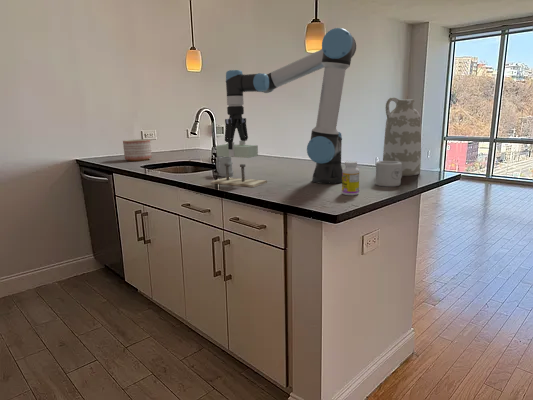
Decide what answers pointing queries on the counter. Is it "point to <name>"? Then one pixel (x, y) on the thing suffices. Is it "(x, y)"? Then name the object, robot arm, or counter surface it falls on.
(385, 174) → the mug
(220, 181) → the board
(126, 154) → the planter
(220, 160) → the mug
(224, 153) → the pale green block
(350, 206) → the counter surface
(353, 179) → the supplement bottle
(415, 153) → the vase
